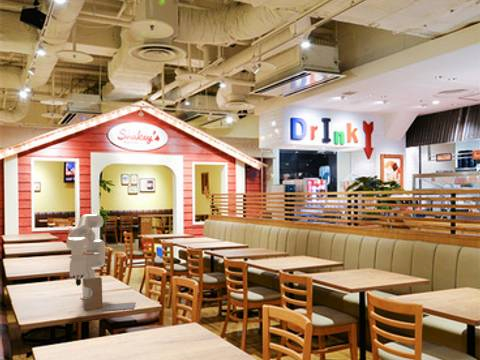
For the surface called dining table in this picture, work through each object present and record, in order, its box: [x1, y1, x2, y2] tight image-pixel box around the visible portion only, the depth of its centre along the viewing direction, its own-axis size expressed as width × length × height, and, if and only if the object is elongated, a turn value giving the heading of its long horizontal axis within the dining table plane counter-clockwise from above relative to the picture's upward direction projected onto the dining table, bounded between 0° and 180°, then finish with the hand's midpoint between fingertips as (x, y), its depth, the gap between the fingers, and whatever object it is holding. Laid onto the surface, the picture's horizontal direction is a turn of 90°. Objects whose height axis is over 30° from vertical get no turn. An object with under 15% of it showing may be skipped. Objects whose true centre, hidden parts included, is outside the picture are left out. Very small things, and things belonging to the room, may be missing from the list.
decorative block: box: [83, 276, 104, 311], centre depth 313 cm, size 11×6×20 cm, turn 119°
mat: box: [101, 301, 136, 312], centre depth 313 cm, size 16×20×1 cm
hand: (78, 285), depth 311 cm, fingers closed
